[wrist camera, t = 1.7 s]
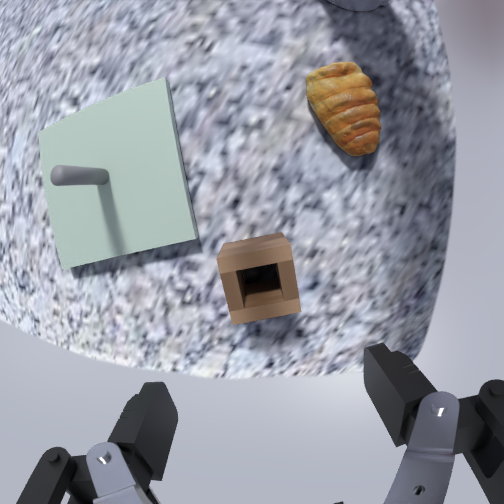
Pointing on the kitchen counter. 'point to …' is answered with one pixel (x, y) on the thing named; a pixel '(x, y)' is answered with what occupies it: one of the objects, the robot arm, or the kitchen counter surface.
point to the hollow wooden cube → (261, 293)
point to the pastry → (345, 106)
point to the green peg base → (117, 177)
